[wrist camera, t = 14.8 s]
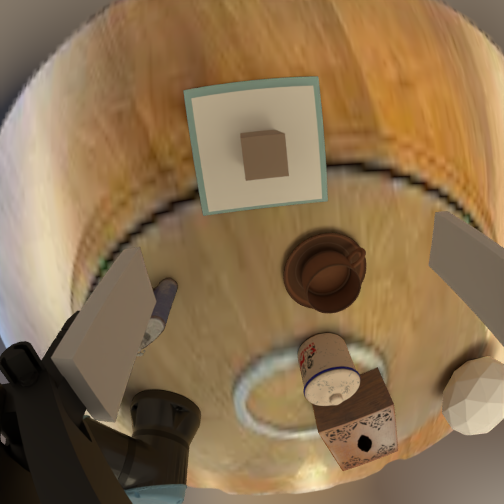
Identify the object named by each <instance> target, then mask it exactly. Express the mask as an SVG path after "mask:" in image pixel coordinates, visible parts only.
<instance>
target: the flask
mask: <svg viewBox="0 0 504 504" xmlns="http://www.w3.org/2000/svg"><path fill="white" fill-rule="evenodd" d="M176 284H177V283H175V281H174V280H173V279H171V278H169V279H165V280H163V281H161V282H160V283H159V285H158V286H157V287H156V288H154V289H153V293H154V296H155V299H156V304H155V307H154V309H153V312H152V314H151V317H150V320H149V323H148V325H147V328H146V331H145V333H144V336H143V339H142V342H141V345H140V347H139V350H138V351H139V352H140V351H141V350H142V349H143V348H145V347H146V346H148V345H149V344H150V343H152V342H153V341H154V340H155V339H156V338H157V337H158V336H159V335H160V334H161V333H162V332H163V331H164V328H165V326H166V323H167V319H168V315H169V312H170V309H171V306H172V303H173V300H174V298H175V294H176V292H177V285H176ZM144 352H145V350H144ZM143 354H144V353H141V352H140V353H139V354H137V356H142V355H143Z"/></svg>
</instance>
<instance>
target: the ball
mask: <svg viewBox="0 0 504 504" xmlns="http://www.w3.org/2000/svg"><path fill="white" fill-rule="evenodd" d="M442 414H443V415H444V417H445V418H446V420H447V421H448V423H449V425H450V426H451V428H452V429H454V430H456V431H458V432H460V433H462V434H464V435H474V434H482V433H488V432H489V431H490V430H491V429H493V428H494V427H495V426H496V425H497V424H498V423H499V422H500V421H501V420H502V419H503V418H504V364H503V363H501V362H499V361H498V360H496V359H494V358H492V357H490V356H486V357H482V358H478V359H474V360H470V361H467V362H466V363H465V364H463V365H462V366H461V367H459V368H458V369H457V370H455V371H454V373H453V375H452V376H451V378H450V380H449V382H448V384H447V386H446V387H445V389H444V391H443V406H442Z"/></svg>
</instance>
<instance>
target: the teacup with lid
mask: <svg viewBox="0 0 504 504" xmlns="http://www.w3.org/2000/svg"><path fill="white" fill-rule="evenodd" d="M298 361H299V365H300V370H301V375H302V380H303V384H304V396H305V397H306V399H307V400H308V401H309V402H311V403H312V404H315V405H319V406H329V405H339V404H340V403H342V402H343V401H345V400H347V399H348V398H350V397H351V396H352V395H353V394H354V393H355V392H356V391H357V389H358V388H359V385H360V375H359V373H358V372H357V371H356V369H355V366H354V364H353V361H352V359H351V356H350V354H349V351H348V348H347V346H346V344H345V341H344V340H343V339H342V338H341V337H340V336H338V335H336V334H332V333H323V334H318V335H315V336H313V337H311V338H309V339H308V340H306V341H305V342H304V343H303V344H302V345H301V347H300V348H299V351H298Z"/></svg>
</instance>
